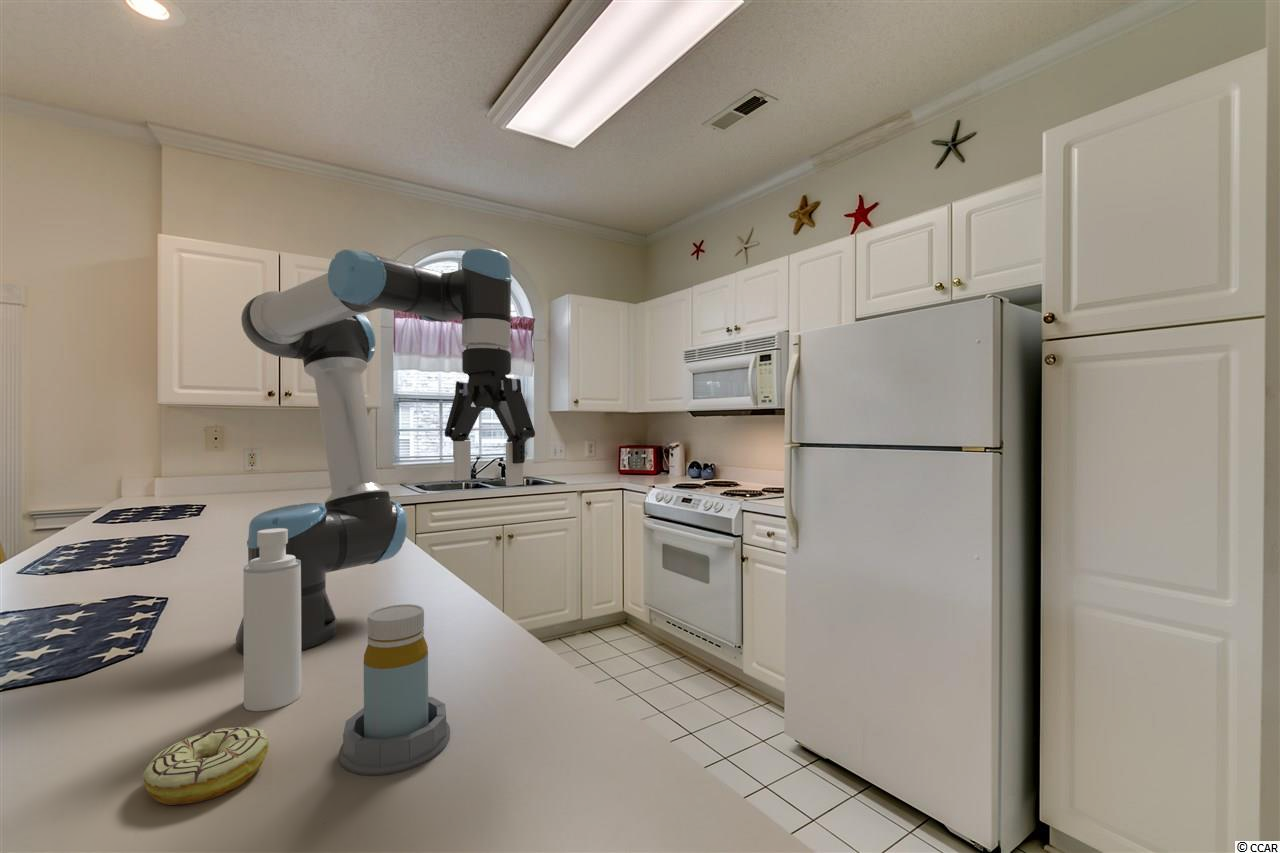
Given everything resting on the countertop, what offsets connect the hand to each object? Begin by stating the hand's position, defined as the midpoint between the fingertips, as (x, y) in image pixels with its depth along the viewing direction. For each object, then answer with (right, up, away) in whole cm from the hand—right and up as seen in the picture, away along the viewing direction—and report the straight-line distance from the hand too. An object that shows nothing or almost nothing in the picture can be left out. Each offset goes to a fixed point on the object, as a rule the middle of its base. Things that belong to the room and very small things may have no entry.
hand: (487, 482), depth 90 cm
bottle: (-5, -28, -23) cm, 37 cm away
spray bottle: (-26, -29, -12) cm, 41 cm away
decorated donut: (-22, -29, -30) cm, 47 cm away
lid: (-4, -29, -23) cm, 37 cm away
